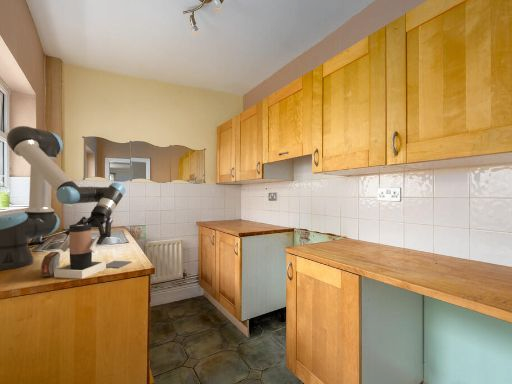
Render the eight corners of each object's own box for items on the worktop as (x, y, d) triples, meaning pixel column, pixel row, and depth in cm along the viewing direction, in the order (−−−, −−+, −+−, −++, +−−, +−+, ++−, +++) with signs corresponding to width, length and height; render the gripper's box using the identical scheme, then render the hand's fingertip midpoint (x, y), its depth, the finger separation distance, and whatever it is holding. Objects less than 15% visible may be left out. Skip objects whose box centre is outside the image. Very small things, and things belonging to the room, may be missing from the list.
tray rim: (54, 277, 102) (53, 269, 101) (80, 267, 114) (80, 260, 114) (82, 278, 100) (82, 270, 100) (106, 268, 112) (105, 261, 112)
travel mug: (73, 277, 101) (72, 226, 101) (67, 273, 106) (66, 225, 106) (95, 272, 108) (94, 224, 107) (88, 268, 112) (87, 222, 112)
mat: (100, 267, 114) (100, 266, 114) (114, 261, 123) (114, 260, 123) (118, 268, 112) (118, 267, 112) (131, 262, 121) (131, 261, 121)
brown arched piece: (52, 269, 112) (52, 249, 112) (61, 268, 113) (61, 249, 113) (40, 280, 98) (39, 258, 98) (50, 279, 100) (49, 257, 100)
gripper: (131, 215, 120) (109, 255, 105) (84, 215, 124) (56, 254, 109) (124, 204, 115) (99, 246, 100) (74, 204, 118) (44, 244, 104)
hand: (76, 250), depth 105 cm, fingers open, 13 cm apart
